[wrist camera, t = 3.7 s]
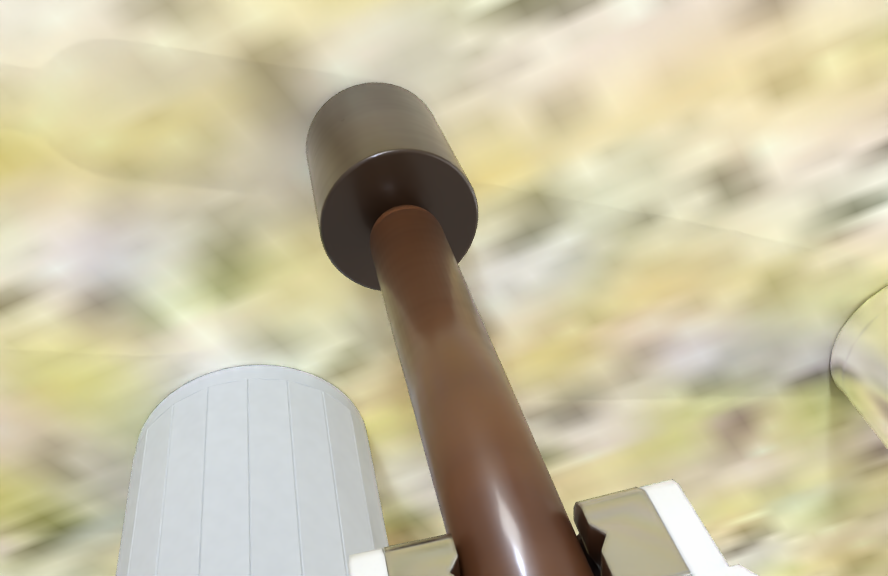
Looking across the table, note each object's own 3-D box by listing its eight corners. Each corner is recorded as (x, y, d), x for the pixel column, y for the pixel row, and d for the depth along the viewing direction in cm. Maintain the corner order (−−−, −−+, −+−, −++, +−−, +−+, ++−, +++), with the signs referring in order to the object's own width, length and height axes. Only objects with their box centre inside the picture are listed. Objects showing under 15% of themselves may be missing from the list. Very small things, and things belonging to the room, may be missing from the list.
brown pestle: (293, 94, 23) (429, 913, 7) (431, 70, 24) (875, 781, 7) (319, 218, 25) (469, 1061, 9) (445, 194, 26) (809, 954, 9)
